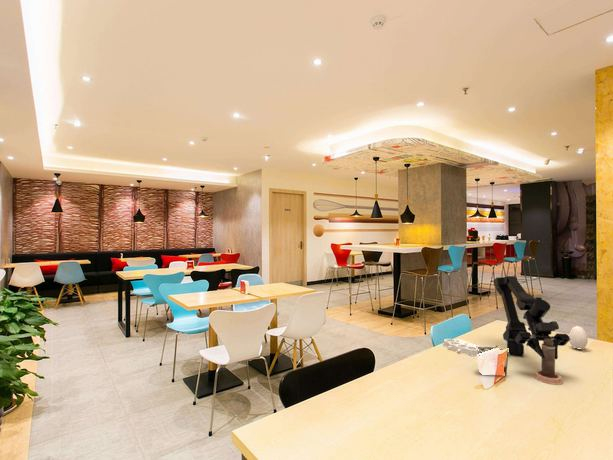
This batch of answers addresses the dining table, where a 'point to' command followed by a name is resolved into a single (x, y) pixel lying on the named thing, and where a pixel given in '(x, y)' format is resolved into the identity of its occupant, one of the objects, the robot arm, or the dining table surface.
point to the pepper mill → (548, 358)
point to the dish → (548, 378)
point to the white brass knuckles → (462, 346)
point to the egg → (578, 337)
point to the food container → (492, 348)
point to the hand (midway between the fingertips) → (550, 358)
